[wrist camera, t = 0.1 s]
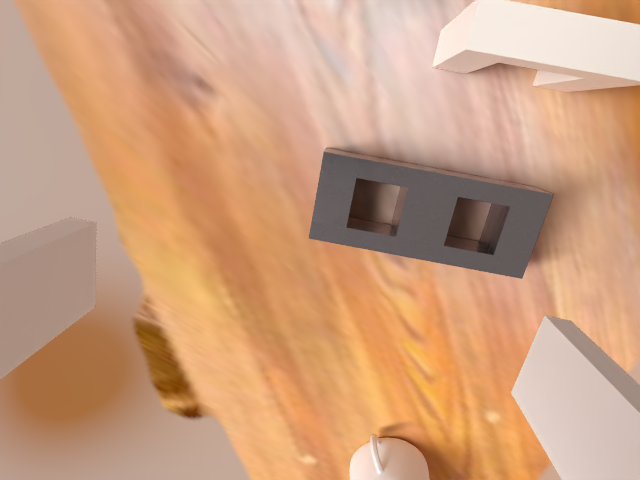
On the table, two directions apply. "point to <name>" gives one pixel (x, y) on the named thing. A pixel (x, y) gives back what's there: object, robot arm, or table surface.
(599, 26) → the white arch
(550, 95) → the table surface
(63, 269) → the robot arm
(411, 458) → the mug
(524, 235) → the cinder block
